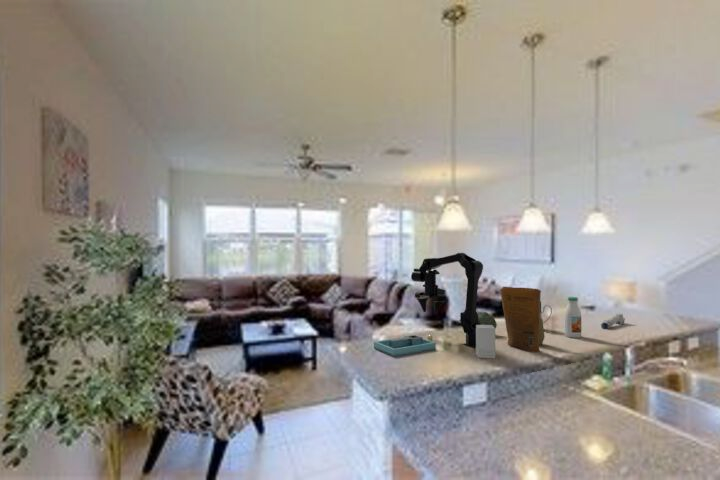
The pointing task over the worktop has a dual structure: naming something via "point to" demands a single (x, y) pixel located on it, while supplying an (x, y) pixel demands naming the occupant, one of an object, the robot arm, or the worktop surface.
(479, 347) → the supplement box
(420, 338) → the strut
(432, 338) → the ball stud
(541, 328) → the squeeze bottle
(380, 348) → the bin
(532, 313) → the pancake mix bag
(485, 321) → the vegetable
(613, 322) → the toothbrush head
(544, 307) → the glass holder
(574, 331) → the milk bottle
